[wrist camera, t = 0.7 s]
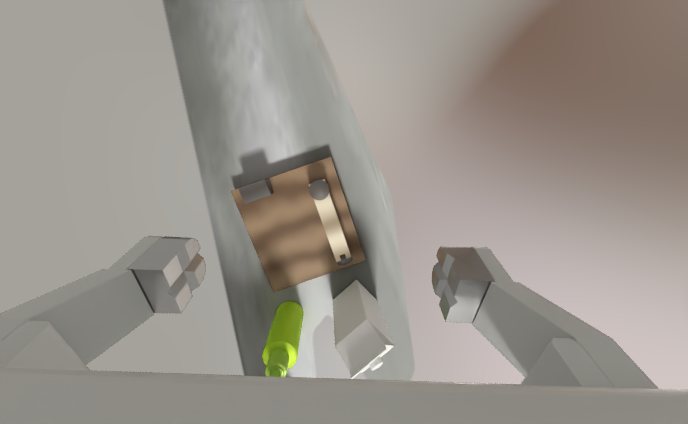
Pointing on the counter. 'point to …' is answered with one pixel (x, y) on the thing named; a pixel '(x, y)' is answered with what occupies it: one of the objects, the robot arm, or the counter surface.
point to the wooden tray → (295, 224)
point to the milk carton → (360, 329)
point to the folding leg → (330, 221)
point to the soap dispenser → (283, 339)
